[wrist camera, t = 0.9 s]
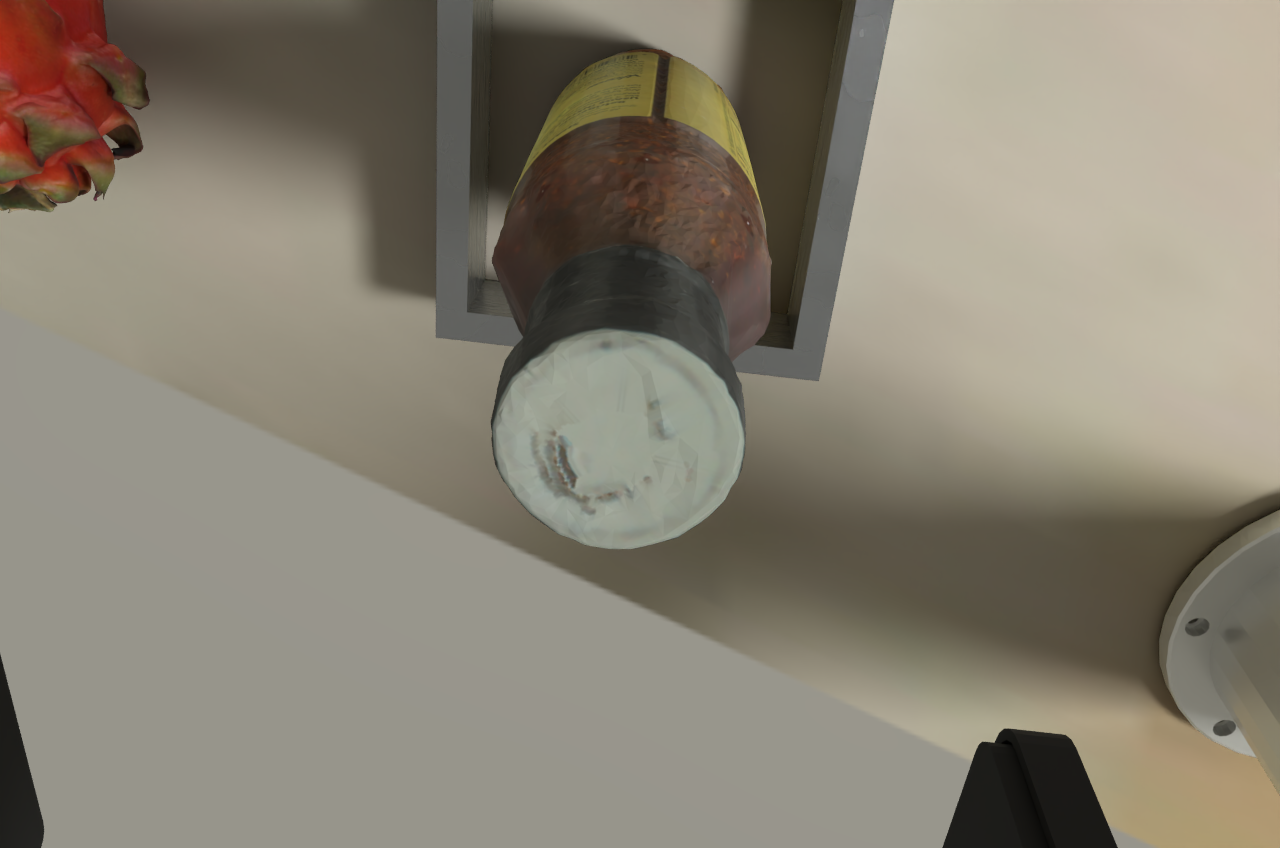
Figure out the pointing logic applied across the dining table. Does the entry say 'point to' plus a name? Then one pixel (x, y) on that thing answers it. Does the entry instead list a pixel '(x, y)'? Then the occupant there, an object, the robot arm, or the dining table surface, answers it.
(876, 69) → the collar
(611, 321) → the sauce bottle
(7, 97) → the dragon fruit
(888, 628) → the dining table surface
